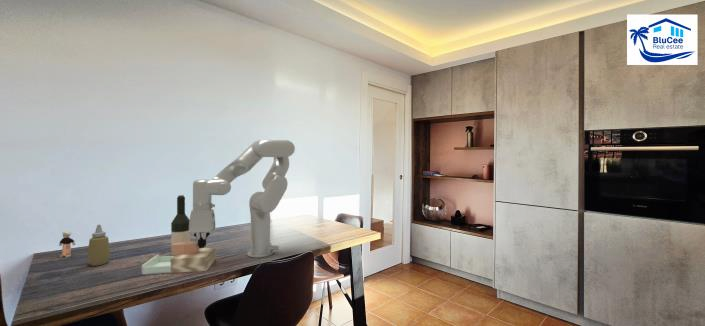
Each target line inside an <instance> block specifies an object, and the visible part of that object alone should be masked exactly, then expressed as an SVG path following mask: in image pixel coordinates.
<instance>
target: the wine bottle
mask: <svg viewBox="0 0 705 326" xmlns="http://www.w3.org/2000/svg"><path fill="white" fill-rule="evenodd" d="M184 195H185V194H182V195H178V196H177V197H176V215H175V216H174V218H173V220H172V221H171V223H170V227H171V228H170V230H171V232H170V233H171V234H170V238H171V239H170V240H171V243H170V246H171V245H172V244H174V243H176V242H192V241H191V236H192V235H189V220H190V217H188V215H187V214H186V197H185V196H184ZM170 256H175V255H172V253H171V252H170Z"/></svg>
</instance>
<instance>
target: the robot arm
mask: <svg viewBox="0 0 705 326" xmlns="http://www.w3.org/2000/svg"><path fill="white" fill-rule="evenodd" d="M295 149H296V148H295V144H294V143H293V142H292V141H290V140H288V139H285V140H284V139H282V140H281V139H277V140H276V139H274V140H273V139H261V140H255V141H254V142H252V143H251V144H250V145H249V146H248V147H247V148H246V149H245V150H244V151H243V152H242V153H241V154H240V155H238V156H237V157H236V158H235V159H234V160H233V161H231V162H230V163H229V164H228V165H226V166H225V167H224V168H223V169H221V170H220V171H219V172H218V173H217V174H216V175H215V176H214V177H213V178H212V179H211V180H210V179H195V180H194V181H193V183H192V210H191V211H190V216H189V235H191V236H193V237H195V238H196V239H197V242H198V246H199V248H206V246H207V238H208V237H209V236H213V235H214V234H216V216H215V210H214V208H215V207H216V204H214V203H213V202H212V196H226V195H228V194H229V193H230V192H231V189H232V186H231V183H232V182H233V181H234V180H236V179H237V178H238V177H240V176H243V175H245V174H247V173H248V172H250V171H251V170H252V169H253V168H254V167H255V166H256V165H257V164H258V163H259V162H260V161H261V160H262V159H263V158H273V162H272V164H271V166H270V168H269V170H268V172H267V173H266V175H265V177H264V178H263V180H262V183H261V185H262V188H263V189H264V191H257V192H254V193H253V194H251V195H250V198H249V201H248V202H249V203H248V204H249V205H248V207H249V213H250V250H248V251H247V254H246V255H247V256H248V257H250V258H257V259H258V258H267V257H269V256H271V255H273V254H274V251H280V245H272V243H271V214H270V213H271V212H273V211H275V209H276V208H277V207H278V206H279V204H280V202H281V200H282V198H283V196H284V195H285V193H286V191H287V189H288V183H289V182H288V180H287V177H285V176H286V174H287V173H288V171H289V168H290V157H291V156H292V155H293V154H294V153H295V151H296V150H295ZM202 233H203V234H202Z"/></svg>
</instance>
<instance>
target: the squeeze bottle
mask: <svg viewBox="0 0 705 326" xmlns="http://www.w3.org/2000/svg"><path fill="white" fill-rule="evenodd" d="M106 233H107V232H106V231H103V227H102V225H101V224H97V225H96V228H95V231H94V232H93V233H91V234H92V235H91V237H90V239H89V242H88V248H87V255H86V257H87V261H88V263H89V265H90V266H93V267H94V266H95V267H96V266H101V265H102V266H103V265H105V264H107V263H108V262H109V258H110V256H111V248H110V242H109V236H107V234H106Z"/></svg>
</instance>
